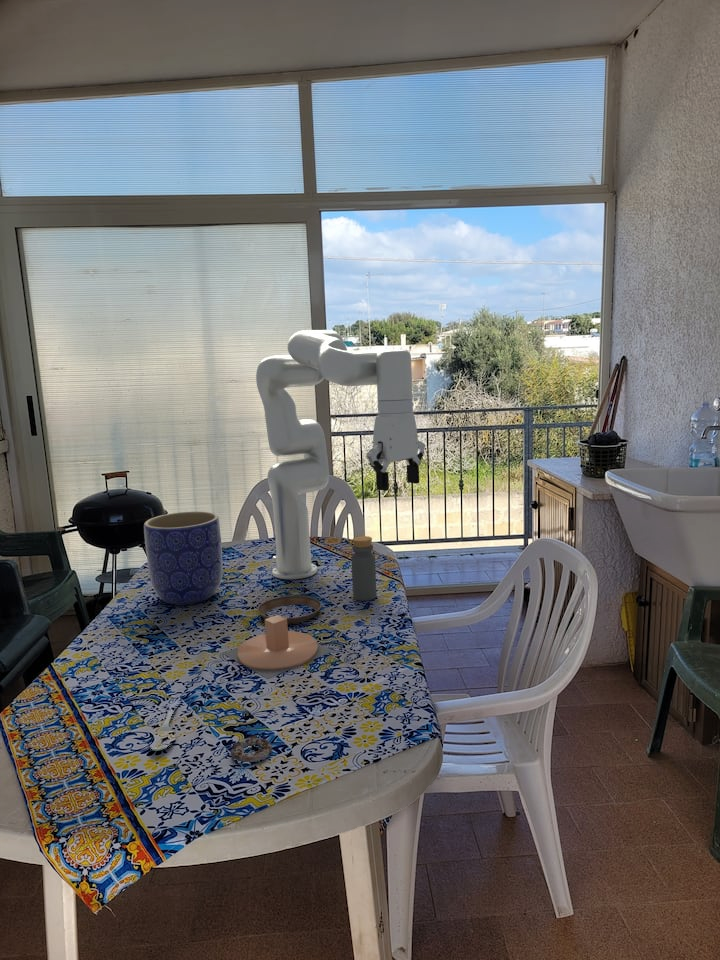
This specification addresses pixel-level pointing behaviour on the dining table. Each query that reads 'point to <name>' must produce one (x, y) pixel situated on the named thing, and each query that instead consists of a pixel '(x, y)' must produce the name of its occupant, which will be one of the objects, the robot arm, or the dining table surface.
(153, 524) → the planter
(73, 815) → the dining table surface
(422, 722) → the dining table surface
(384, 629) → the dining table surface
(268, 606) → the brown ring
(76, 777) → the dining table surface
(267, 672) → the mat
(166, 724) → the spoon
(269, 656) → the lid
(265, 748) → the donut
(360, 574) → the bottle
